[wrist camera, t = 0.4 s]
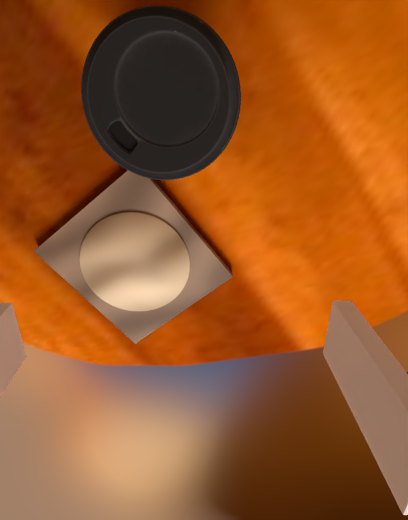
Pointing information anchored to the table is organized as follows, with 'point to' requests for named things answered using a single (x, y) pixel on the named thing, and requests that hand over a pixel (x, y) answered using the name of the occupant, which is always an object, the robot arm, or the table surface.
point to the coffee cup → (161, 92)
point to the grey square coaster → (134, 256)
